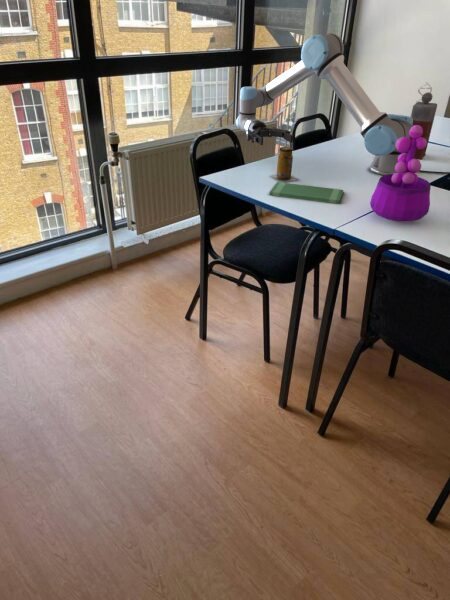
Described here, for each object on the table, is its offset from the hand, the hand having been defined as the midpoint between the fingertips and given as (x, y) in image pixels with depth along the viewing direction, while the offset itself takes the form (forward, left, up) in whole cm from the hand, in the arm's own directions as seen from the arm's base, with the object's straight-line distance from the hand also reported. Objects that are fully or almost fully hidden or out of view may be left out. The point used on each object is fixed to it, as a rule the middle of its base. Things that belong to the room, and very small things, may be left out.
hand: (277, 140), depth 189 cm
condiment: (-6, +7, -13) cm, 16 cm away
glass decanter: (-57, -48, -13) cm, 76 cm away
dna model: (-56, -63, -13) cm, 85 cm away
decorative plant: (-51, +34, -13) cm, 62 cm away
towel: (-18, +22, -13) cm, 31 cm away
